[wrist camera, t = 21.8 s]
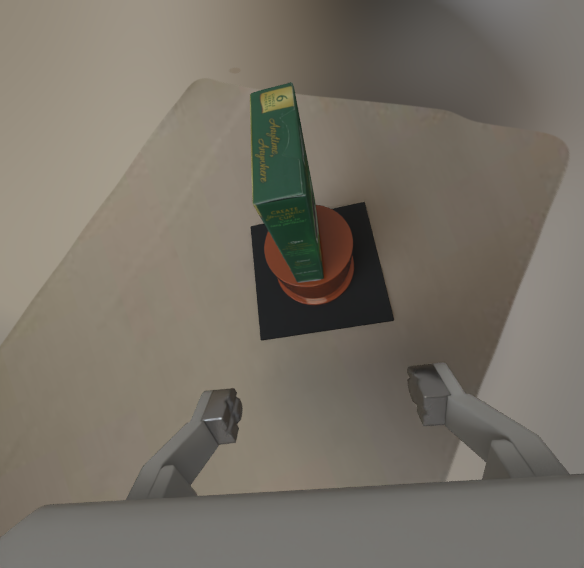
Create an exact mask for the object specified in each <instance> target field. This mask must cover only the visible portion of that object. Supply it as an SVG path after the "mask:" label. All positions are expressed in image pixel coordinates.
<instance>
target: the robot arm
mask: <svg viewBox="0 0 584 568" xmlns="http://www.w3.org/2000/svg"><path fill="white" fill-rule="evenodd" d="M407 373H408V375H409V379H408V380H407V381H408V389H409V393H410V396H411V398H412V401H413V402H414V403H415V404H416V405H417V413H418V415H419V417H420V420H421V422H422V424H423V426H434V425H445V426H446V427H447V428H448V429H449V430H450V431H451V432H452V433H454V434H455V435H456V436H457V437H458V438H459V439H460V440H461V441H463V442H464V443H465V444H466V445H467V446H468V447H469V448H471V449H472V450H473V451H474V452H475V453H476V454H477V455H478V456H480V457H481V458H482V459H483V460H484V461H485V462H486V466H485V470H484V474H483V478H482V480H469V481H451V482H434V483H417V484H399V485H382V486H364V487H346V488H328V489H311V490H294V491H277V492H259V493H242V494H225V495H207V496H197V493H196V492H195V491H194V489H193V488H192V487H191V486H190V485H191V484H192V482H193V481H194V480H195V478H196V477H197V475H198V474H199V473H200V471H201V470H202V468H203V467H204V466H205V464H206V463H207V461H208V460H209V459H210V457H211V456H212V454H213V453H214V452H215V450H216V449H217V447H218V446H219V445H220V444H229V443H236V439H237V434H238V430H239V428H238V426H237V424H238V422H239V421H240V420H241V417H242V403H241V400H240V399H239V398H238V397H236V394H237V392H236V390H235V388H231V389H220V390H210V391H204V392H203V393H202V395H201V397H200V400H199V402H198V404H197V407H196V409H195V411H194V414H193V416H192V419H191V421H190V422H189V423H186V424H185V425H184V426H183V427H182V428H181V429H180V430H179V431H178V432H177V433H176V434H175V435H174V436H173V437H172V438H171V439H170V440H169V441H168V442H167V443H166V444H165V445H164V446H163V447H162V448H161V449H160V450H159V451H158V452H157V453H156V454H155V455H154V456H153V457H152V458H151V459H150V460H149V461H148V462H147V463H146V464H145V465H144V466H143V467H142V469H141V471H140V473H139V475H138V477H137V479H136V481H135V483H134V485H133V487H132V489H131V491H130V493H129V495H128V497H127V499H126V500H120V501H102V502H84V503H66V504H49V505H44V506H42V507H40V508H38V509H36V510H35V511H33V512H32V513H31V514H29V515H28V516H27V517H25V518H24V519H23V520H21V521H20V522H19V523H18V524H16V525H15V526H14V527H13V528H11V529H10V530H9V531H8V532H6V533H5V534H4V535H3V536H1V537H0V568H584V474H573V475H570V474H569V473H568V472H567V470H566V469H565V468H564V467H563V465H562V464H561V463H560V462H559V460H558V459H557V458H556V457H555V455H554V454H553V453H552V452H551V450H550V449H549V448H548V447H547V445H546V444H545V443H544V442H543V440H542V439H541V438H540V437H539V436H538V435H537V434H535V433H533V432H532V431H530V430H529V429H527V428H525V427H523V426H522V425H520V424H519V423H517V422H515V421H514V420H512V419H511V418H509V417H507V416H506V415H504V414H503V413H501V412H499V411H498V410H496V409H494V408H493V407H491V406H489V405H488V404H486V403H485V402H483V401H481V400H480V399H478V398H476V397H475V396H473V395H472V394H466V393H465V391H464V390H463V388H462V387H461V385H460V384H459V382H458V381H457V379H456V378H455V376H454V375H453V373H452V372H451V370H450V369H449V367H448V366H447V364H446V363H445V362H441V363H433V364H424V365H417V366H409V367H408V368H407Z"/></svg>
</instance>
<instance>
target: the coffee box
mask: <svg viewBox="0 0 584 568" xmlns="http://www.w3.org/2000/svg"><path fill="white" fill-rule="evenodd" d="M250 119H251V169H252V197H253V205H254V207H255V209H256V210H257V212H258V214H259V216H260V217H261V219H262V221H263V222H264V224H265V226H266V227H267V229H268V231H269V233H270V234H271V236H272V238H273V240H274V242H275V243H276V245H277V247H278V249H279V250H280V252H281V254H282V256H283V258H284V259H285V261H286V263H287V265H288V266H289V268H290V271H291V272H292V274H293V275H294V277H295V279H296V281H297V282H298V283H300V282H308V281H317V280H321V279H323V278H324V275H323V265H322V256H321V246H320V237H319V228H318V220H317V211H316V205H315V199H314V193H313V187H312V182H311V176H310V171H309V166H308V161H307V155H306V150H305V144H304V139H303V133H302V128H301V122H300V117H299V112H298V107H297V101H296V96H295V91H294V86H293V84H292V83H291V82H290V83H288V84H284V85H280V86H276V87H272V88H268V89H264V90H261V91H257V92H254V93H251V94H250Z"/></svg>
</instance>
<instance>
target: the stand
mask: <svg viewBox="0 0 584 568" xmlns="http://www.w3.org/2000/svg"><path fill="white" fill-rule="evenodd" d="M316 211H317V220H318V228H319V237H320V246H321V256H322V265H323V275H324V278H323V279H321V280H317V281H308V282H300V283H298V282H297V281H296V279H295V277H294V275H293V274H292V272H291V271H290V268H289V266H288V265H287V263H286V261H285V259H284V258H283V256H282V254H281V252H280V250H279V249H278V247H277V245H276V243H275V242H274V240H273V238H272V236H271V234H270V233H269V231H268V233H267V236H266V240H265V246H264V251H265V258H266V261H267V264H268V266H269V268H270V269H271V270H272V272H273V273H274V274H275V276H276V277H277V278H278V281H279V284H280V286H281V288H282V289H283V291H284V292H285V293H286V294H287V295H288V296H289V297H290V298H292V299H293V300H295V301H297V302H299V303H301V304H305V305H310V306H317V305H323V304H327V303H330V302H332V301H334V300H336V299H337V298H339V297H340V296H341V295H342V294H343V293H344V292H345V291H346V290H347V288H348V287H349V285H350V283H351V281H352V277H353V272H354V260H353V256H352V251H353V237H352V233H351V229H350V227H349V225H348V224H347V222H346V221H345V219H344V218H343V217H342V216H341V215H339V214H338V213H337V212H335V211H334V210H332V209H330V208H327V207H324V206H320V205H316Z"/></svg>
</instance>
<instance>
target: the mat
mask: <svg viewBox="0 0 584 568" xmlns="http://www.w3.org/2000/svg"><path fill="white" fill-rule="evenodd" d="M332 210H334V211H335V212H337V213H338V214H339V215H341V216H342V217H343V218H344V219H345V221H346V222H347V224H348V225H349V227H350V229H351V233H352V237H353V251H352V256H353V260H354V272H353V277H352V281H351V283H350V285H349V287H348V288H347V290H346V291H345V292H344V293H343V294H342V295H341V296H340V297H339V298H337V299H336V300H334V301H332V302H330V303H327V304H323V305H317V306H310V305H305V304H301V303H299V302H297V301H295V300H293V299H292V298H290V297H289V296H288V295H287V294H286V293H285V292H284V291H283V289H282V288H281V286H280V284H279V281H278V278H277V277H276V276H275V274H274V273H273V272H272V270H271V269H270V268H269V266H268V264H267V261H266V258H265V251H264V246H265V240H266V236H267V233H268V229H267V227H266V226H265V224H260V225H256V226H251V236H252V247H253V258H254V269H255V281H256V292H257V303H258V314H259V325H260V337H261V340H268V339H274V338H281V337H288V336H295V335H301V334H308V333H315V332H321V331H328V330H335V329H341V328H348V327H355V326H361V325H368V324H375V323H382V322H388V321H393V320H394V318H393V314H392V310H391V306H390V302H389V298H388V294H387V290H386V286H385V282H384V278H383V274H382V270H381V266H380V262H379V258H378V254H377V250H376V246H375V242H374V238H373V234H372V230H371V226H370V222H369V218H368V214H367V210H366V206H365V202H362V203H357V204H353V205H348V206H343V207H339V208H334V209H332Z"/></svg>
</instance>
